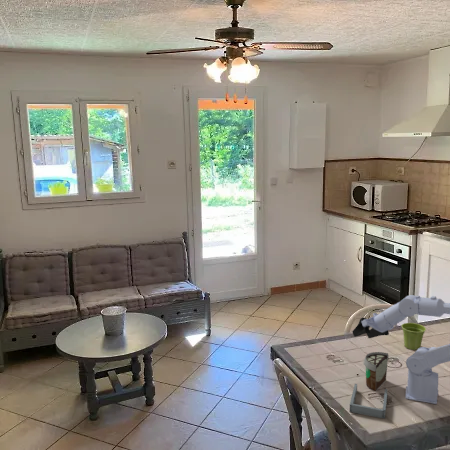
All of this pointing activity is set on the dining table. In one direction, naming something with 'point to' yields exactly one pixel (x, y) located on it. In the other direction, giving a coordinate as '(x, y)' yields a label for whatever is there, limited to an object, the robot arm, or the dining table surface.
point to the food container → (376, 369)
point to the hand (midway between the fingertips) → (360, 334)
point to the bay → (367, 410)
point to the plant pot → (413, 335)
